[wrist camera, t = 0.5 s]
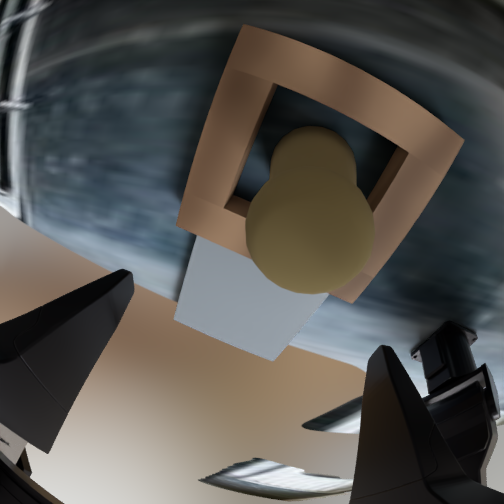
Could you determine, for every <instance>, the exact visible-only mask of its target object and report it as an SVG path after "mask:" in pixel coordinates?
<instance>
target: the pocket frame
mask: <svg viewBox="0 0 504 504" xmlns="http://www.w3.org/2000/svg"><path fill="white" fill-rule="evenodd" d="M278 85H281V86H283V87H286V88H288V89H291V90H293V91H295V92H298V93H300V94H302V95H305V96H307V97H309V98H311V99H314V100H316V101H318V102H320V103H322V104H324V105H326V106H329V107H331V108H333V109H335V110H337V111H339V112H341V113H343V114H344V115H346V116H348V117H350V118H352V119H354V120H356V121H358V122H359V123H361V124H363V125H365V126H367V127H368V128H370V129H372V130H374V131H375V132H377V133H379V134H380V135H382V136H384V137H385V138H387V139H389V140H390V141H392V142H393V143H395V144H397V145H398V146H397V148H396V150H395V152H394V154H393V155H392V157H391V159H390V161H389V162H388V164H387V166H386V168H385V169H384V171H383V173H382V175H381V176H380V178H379V180H378V181H377V183H376V185H375V187H374V188H373V190H372V192H371V193H370V195H369V197H368V198H367V202H368V204H369V206H370V208H371V210H372V213H373V219H374V225H375V238H374V243H373V248H372V252H371V256H370V258H369V259H368V261H367V263H366V264H365V266H364V268H363V269H362V271H361V272H360V273H359V274H358V275H357V276H355V277H354V278H353V279H352V280H351V281H349V282H348V283H347V284H346V285H344V286H342V287H340V288H338V289H335V290H333V291H331V292H326V293H329V294H331V295H333V296H336V297H338V298H340V299H342V300H345V301H347V302H349V303H353V302H354V301H355V300H356V299H357V298H358V296H359V295H360V294H361V293H362V292H363V290H364V289H365V288H366V287H367V286H368V284H369V283H370V282H371V281H372V279H373V278H374V277H375V276H376V274H377V273H378V272H379V271H380V269H381V268H382V267H383V265H384V264H385V263H386V262H387V260H388V259H389V258H390V256H391V255H392V254H393V252H394V251H395V250H396V248H397V247H398V246H399V244H400V243H401V241H402V240H403V239H404V237H405V236H406V234H407V233H408V232H409V230H410V229H411V227H412V226H413V224H414V223H415V222H416V220H417V219H418V217H419V216H420V214H421V213H422V211H423V210H424V208H425V207H426V205H427V204H428V202H429V200H430V199H431V197H432V196H433V194H434V193H435V191H436V189H437V188H438V186H439V184H440V183H441V181H442V180H443V178H444V176H445V174H446V173H447V171H448V169H449V168H450V166H451V164H452V162H453V161H454V159H455V157H456V155H457V153H458V152H459V150H460V148H461V146H462V144H463V142H464V140H463V139H462V138H461V137H460V136H459V135H458V134H456V133H455V132H454V131H453V130H452V129H450V128H449V127H448V126H447V125H445V124H444V123H443V122H442V121H440V120H439V119H438V118H436V117H435V116H434V115H432V114H431V113H430V112H428V111H427V110H425V109H424V108H423V107H421V106H420V105H418V104H417V103H416V102H414V101H413V100H411V99H410V98H408V97H407V96H405V95H403V94H402V93H400V92H399V91H397V90H396V89H394V88H392V87H391V86H389V85H387V84H386V83H384V82H382V81H381V80H379V79H377V78H375V77H374V76H372V75H370V74H368V73H366V72H365V71H363V70H361V69H359V68H357V67H355V66H353V65H351V64H349V63H347V62H345V61H343V60H341V59H339V58H337V57H334V56H332V55H330V54H328V53H325V52H323V51H321V50H319V49H316V48H314V47H311V46H309V45H306V44H304V43H301V42H299V41H296V40H293V39H290V38H288V37H285V36H282V35H279V34H276V33H273V32H270V31H266V30H263V29H260V28H256V27H253V26H249V25H245V24H243V26H242V28H241V31H240V33H239V35H238V37H237V40H236V42H235V45H234V47H233V49H232V52H231V54H230V57H229V59H228V62H227V64H226V67H225V69H224V72H223V75H222V77H221V80H220V82H219V85H218V88H217V91H216V93H215V96H214V99H213V102H212V105H211V107H210V110H209V113H208V116H207V119H206V122H205V125H204V128H203V131H202V134H201V137H200V141H199V144H198V147H197V150H196V153H195V157H194V160H193V163H192V167H191V170H190V174H189V177H188V181H187V184H186V188H185V192H184V195H183V199H182V203H181V207H180V211H179V215H178V219H177V223H176V226H178V227H180V228H182V229H184V230H187V231H189V232H191V233H193V234H196V235H198V236H200V237H202V238H204V239H207V240H209V241H211V242H213V243H216V244H218V245H220V246H222V247H225V248H227V249H229V250H231V251H234V252H236V253H238V254H240V255H243V256H245V257H247V258H249V259H252V258H251V255H250V253H249V251H248V248H247V246H246V232H245V220H246V217H247V213H248V210H249V207H250V204H251V202H249V201H246V200H244V199H242V198H240V197H237V196H235V195H233V194H234V191H235V189H236V186H237V184H238V181H239V178H240V176H241V173H242V171H243V168H244V166H245V163H246V161H247V158H248V156H249V153H250V151H251V148H252V146H253V143H254V141H255V138H256V136H257V133H258V131H259V129H260V126H261V124H262V121H263V119H264V116H265V114H266V112H267V109H268V107H269V105H270V102H271V100H272V98H273V95H274V93H275V91H276V88H277V86H278Z"/></svg>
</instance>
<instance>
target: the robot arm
mask: <svg viewBox="0 0 504 504" xmlns="http://www.w3.org/2000/svg"><path fill="white" fill-rule="evenodd" d="M133 294H134V282H133V274H132V272H130V271H128V270H125V269H120V270H117V271H115V272H113V273H111V274H109V275H106V276H104V277H102V278H100V279H98V280H95V281H93V282H91V283H89V284H87V285H85V286H83V287H80V288H78V289H76V290H74V291H72V292H70V293H67V294H65V295H63V296H61V297H59V298H57V299H55V300H53V301H51V302H49V303H47V304H45V305H43V306H40V307H38V308H36V309H34V310H32V311H30V312H28V313H26V314H23V315H21V316H19V317H17V318H14V319H12V320H9V321H7V322H4V323H1V324H0V504H64V503H63V502H61V501H60V500H58V499H57V498H55V497H54V496H53V495H51V494H50V493H49V492H47V491H46V490H45V489H43V488H42V487H41V486H40V485H38V484H37V483H36V482H35V481H33V480H32V479H31V478H30V476H31V474H32V471H31V468H30V464H29V461H28V457H27V453H26V449H25V446H26V444H27V442H29V443H30V444H32V445H33V446H35V447H36V448H38V449H40V450H42V451H43V452H45V453H47V454H48V453H49V451H50V450H51V448H52V446H53V443H54V441H55V439H56V437H57V435H58V433H59V431H60V429H61V427H62V425H63V423H64V421H65V419H66V417H67V415H68V412H69V411H70V409H71V407H72V405H73V403H74V401H75V399H76V397H77V396H78V394H79V392H80V390H81V388H82V386H83V385H84V383H85V381H86V379H87V377H88V376H89V374H90V372H91V370H92V369H93V367H94V365H95V363H96V362H97V360H98V358H99V357H100V355H101V353H102V351H103V350H104V348H105V346H106V345H107V343H108V341H109V340H110V338H111V336H112V335H113V333H114V332H115V330H116V328H117V326H118V324H119V322H120V320H121V318H122V316H123V314H124V312H125V310H126V308H127V306H128V304H129V302H130V300H131V298H132V296H133ZM477 339H478V337H477V335H476V334H475V333H473V332H471V331H469V330H467V329H465V328H463V327H461V326H459V325H458V324H456V323H454V322H452V321H447V322H446V323H445V324H444V325H443V326H442V327H441V328H439V329H438V330H437V331H436V332H435V333H434V334H433V335H432V336H431V337H430V338H429V339H428V340H426V341H425V342H424V343H423V344H422V345H421V346H420V347H419V348H417V349H416V350H415V351H414V352H413V353H412V354H411V358H412V359H413V360H416V361H419V362H422V366H423V371H424V376H425V379H426V382H427V388H428V394H430V395H428V396H426V397H424V398H421V396H420V394H419V392H418V390H417V389H416V387H415V385H414V384H413V382H412V380H411V378H410V377H409V375H408V373H407V372H406V370H405V368H404V367H403V365H402V363H401V362H400V360H399V358H398V357H397V355H396V353H395V352H394V350H393V349H392V347H390V346H386V345H380V346H379V347H378V348H377V350H376V351H375V352H374V353H373V354H372V356H371V357H370V358H369V361H368V365H367V372H366V379H365V386H364V392H363V399H362V410H361V423H360V434H359V444H358V452H357V460H356V467H355V474H354V480H353V486H352V492H351V497H350V502H349V504H504V493H501V492H499V491H496V490H493V489H491V488H489V487H487V481H486V468H487V465H488V463H489V461H490V458H491V456H492V453H493V451H494V448H495V445H496V443H497V439H498V434H497V427H496V421H495V420H497V419H499V418H500V408H499V399H498V393H497V389H496V386H495V382H494V379H493V376H492V374H491V372H490V370H489V369H488V367H487V365H486V363H484V364H483V365H481V367H479V368H478V369H477V367H476V364H475V361H474V357H473V354H472V351H471V348H470V346H471V345H472V344H473V343H474V342H475V341H476V340H477ZM484 387H486V388H484ZM483 388H484V389H483Z"/></svg>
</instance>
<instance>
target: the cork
mask: <svg viewBox="0 0 504 504" xmlns="http://www.w3.org/2000/svg"><path fill="white" fill-rule="evenodd" d="M245 232H246V246H247V248H248V251H249V253H250V255H251V258H252V260H253V262H254V263H255V265H256V266H257V267H258V268H259V270H260V271H261V272H262V273H263V274H264V275H265V277H266V278H267V279H269V280H270V281H272V282H273V283H275V284H276V285H278V286H279V287H281V288H283V289H286V290H289V291H292V292H295V293H302V294H312V295H313V294H320V293H326V292H331V291H333V290H335V289H338V288H340V287H342V286H344V285H346V284H347V283H348V282H349V281H351V280H352V279H353V278H354V277H355V276H357V275H358V274H359V273H360V272H361V271H362V269H363V268H364V266H365V264H366V263H367V261H368V259H369V258H370V256H371V252H372V248H373V243H374V238H375V225H374V219H373V213H372V210H371V208H370V206H369V204H368V202H367V200H366V199H365V197H364V195H363V193H362V192H361V190H360V189H359V188H358V187H357V186H356V162H355V158H354V154H353V151H352V150H351V148H350V147H349V145H348V143H347V142H346V141H345V140H344V139H343V138H342V137H341V136H339V135H338V134H337V133H336V132H334V131H331V130H329V129H326V128H324V127H318V126H305V127H301V128H298V129H294V130H293V131H291V132H289V133H288V134H286V135H285V136H283V137H282V139H281V140H280V141H279V143H278V144H277V145H276V147H275V149H274V152H273V155H272V158H271V166H270V178H269V181H267V182H266V183H265V184H264V185H263V186H262V188H261V189H260V190H259V192H258V193H257V194H256V196H255V197H254V198H253V200H252V202H251V204H250V207H249V210H248V213H247V217H246V220H245Z"/></svg>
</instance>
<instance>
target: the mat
mask: <svg viewBox="0 0 504 504" xmlns="http://www.w3.org/2000/svg"><path fill="white" fill-rule="evenodd" d="M328 295H329V293H320V294H313V295H312V294H302V293H295V292H292V291H289V290H286V289H283V288H281V287H279V286H278V285H276V284H275V283H273V282H272V281H270V280H269V279H267V278H266V277H265V275H264V274H263V273H262V272H261V271H260V270H259V268H258V267H257V266H256V265H255V263H254V262H253V260H252V259H249V258H247V257H245V256H243V255H240V254H238V253H236V252H234V251H231V250H229V249H227V248H225V247H222V246H220V245H218V244H216V243H213V242H211V241H209V240H207V239H204V238H202V237H200V236H198V235H197V237H196V241H195V244H194V247H193V251H192V254H191V258H190V261H189V264H188V268H187V272H186V275H185V279H184V282H183V286H182V290H181V293H180V297H179V301H178V305H177V309H176V312H175V316H174V320H176V321H178V322H180V323H182V324H184V325H187V326H189V327H191V328H193V329H195V330H198V331H200V332H202V333H204V334H206V335H209V336H211V337H213V338H216V339H218V340H220V341H223V342H225V343H227V344H230V345H232V346H235V347H237V348H240V349H242V350H245V351H247V352H250V353H252V354H255V355H257V356H260V357H263V358H265V359H268V360H271V361H274V360H275V359H276V358H277V356H278V355H279V354H280V353H281V352H282V351H283V350H284V349H285V347H286V346H287V345H288V344H289V343H290V342H291V340H292V339H293V338H294V337H295V336H296V335H297V333H298V332H299V331H300V330H301V329H302V327H303V326H304V325H305V324H306V323H307V321H308V320H309V319H310V318H311V316H312V315H313V314H314V313H315V311H316V310H317V309H318V308H319V306H320V305H321V304H322V303H323V301H324V300H325V299H326V298H327V296H328Z"/></svg>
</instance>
